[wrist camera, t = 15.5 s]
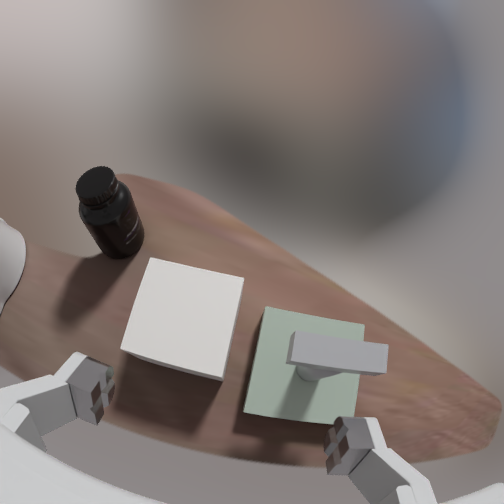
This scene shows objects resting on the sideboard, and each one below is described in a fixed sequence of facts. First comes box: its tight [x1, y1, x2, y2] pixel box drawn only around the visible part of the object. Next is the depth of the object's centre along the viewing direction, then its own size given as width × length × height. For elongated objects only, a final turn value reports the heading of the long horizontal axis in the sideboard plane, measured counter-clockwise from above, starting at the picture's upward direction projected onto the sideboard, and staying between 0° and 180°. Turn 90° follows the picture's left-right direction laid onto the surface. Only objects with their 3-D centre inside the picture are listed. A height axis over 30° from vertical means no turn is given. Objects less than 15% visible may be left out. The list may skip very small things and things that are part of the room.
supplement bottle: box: [76, 166, 144, 259], centre depth 33 cm, size 7×7×12 cm
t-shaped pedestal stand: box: [243, 306, 388, 424], centre depth 27 cm, size 12×12×13 cm
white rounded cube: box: [120, 257, 244, 381], centre depth 31 cm, size 10×10×7 cm
